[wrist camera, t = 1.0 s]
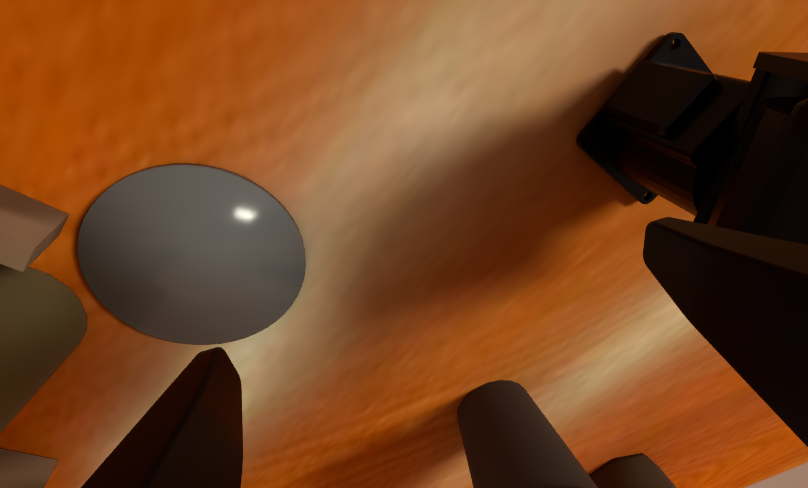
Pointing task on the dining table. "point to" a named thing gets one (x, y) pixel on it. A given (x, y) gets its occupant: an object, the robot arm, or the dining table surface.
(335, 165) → the dining table surface
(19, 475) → the rack
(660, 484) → the beer bottle
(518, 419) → the coffee cup
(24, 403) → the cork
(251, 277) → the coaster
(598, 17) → the dining table surface
